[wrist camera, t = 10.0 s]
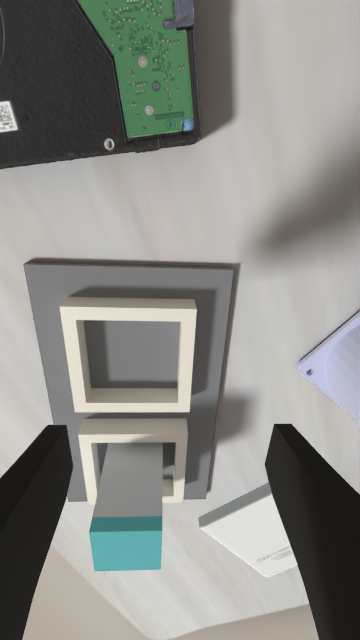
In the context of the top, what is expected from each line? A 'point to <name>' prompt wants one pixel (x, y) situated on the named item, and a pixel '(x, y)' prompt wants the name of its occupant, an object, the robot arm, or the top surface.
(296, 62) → the top surface
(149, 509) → the plug
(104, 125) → the disk drive
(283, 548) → the external hard drive
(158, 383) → the mat
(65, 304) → the frame
